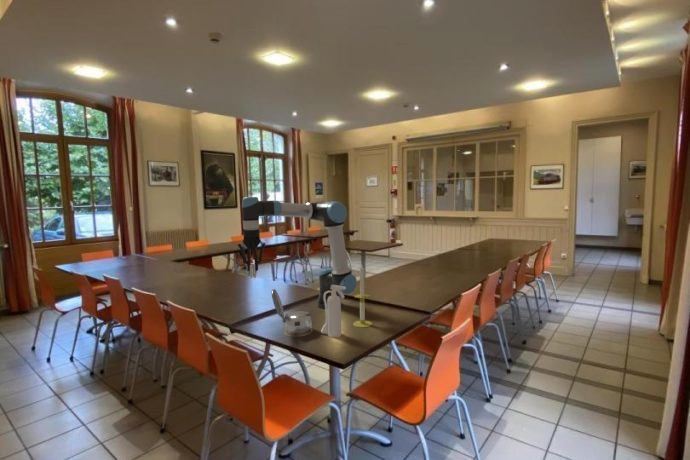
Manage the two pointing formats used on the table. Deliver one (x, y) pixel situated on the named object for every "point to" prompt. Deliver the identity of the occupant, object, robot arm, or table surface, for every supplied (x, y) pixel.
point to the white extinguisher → (333, 311)
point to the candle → (362, 302)
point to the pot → (298, 323)
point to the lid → (277, 303)
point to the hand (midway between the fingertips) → (253, 277)
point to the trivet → (302, 335)
